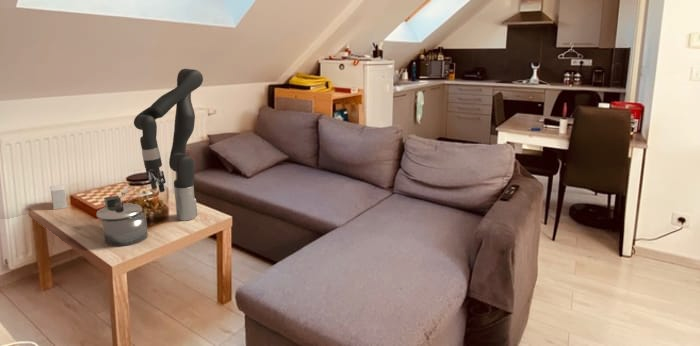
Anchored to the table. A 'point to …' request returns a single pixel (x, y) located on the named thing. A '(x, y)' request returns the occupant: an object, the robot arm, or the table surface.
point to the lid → (118, 209)
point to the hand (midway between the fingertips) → (158, 190)
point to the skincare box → (58, 197)
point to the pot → (125, 230)
